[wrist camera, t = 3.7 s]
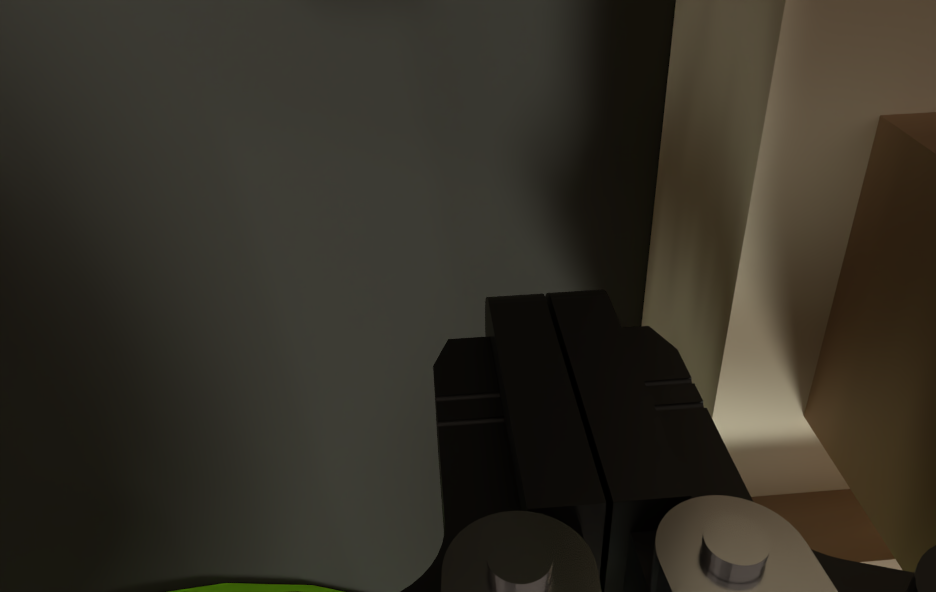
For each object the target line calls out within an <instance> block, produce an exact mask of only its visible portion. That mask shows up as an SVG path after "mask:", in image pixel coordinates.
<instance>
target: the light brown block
mask: <svg viewBox="0 0 936 592" xmlns="http://www.w3.org/2000/svg"><path fill="white" fill-rule="evenodd" d="M804 418H805V419H806V421H807V422H808V424H809V425H810V427H811V428H812V430H813V432H814V433H815V435H816V436H817V438H818V439H819V441H820V442H821V444H822V446H823V447H824V449H825V450H826V452H827V453H828V455H829V456H830V458H831V460H832V461H833V463H834V464H835V466H836V467H837V469H838V470H839V472H840V474H841V475H842V477H843V478H844V480H845V481H846V483H847V484H848V486H849V488H850V489H851V491H852V492H853V494H854V495H855V497H856V498H857V500H858V502H859V503H860V505H861V506H862V508H863V509H864V511H865V512H866V514H867V516H868V517H869V519H870V520H871V522H872V523H873V525H874V526H875V528H876V530H877V531H878V533H879V534H880V536H881V537H882V539H883V540H884V542H885V544H886V545H887V547H888V548H889V550H890V551H891V553H892V554H893V556H894V558H895V559H896V561H897V562H898V564H899V565H900V567H901V568H902V570H903V571H909V572H914V571H915V569H916V566H917V564H918V562H919V560H920V559H921V557H922V555H923V554H924V553H925V552H926V551H927V550H928V549H930V548H932V547H933V546H935V545H936V112H929V113H911V114H893V115H880V118H879V122H878V126H877V130H876V134H875V138H874V141H873V145H872V149H871V153H870V157H869V161H868V165H867V169H866V173H865V177H864V181H863V185H862V189H861V193H860V197H859V200H858V204H857V208H856V212H855V216H854V220H853V224H852V228H851V232H850V236H849V240H848V244H847V248H846V252H845V256H844V259H843V263H842V267H841V271H840V275H839V279H838V283H837V287H836V291H835V295H834V299H833V303H832V307H831V311H830V315H829V318H828V322H827V326H826V330H825V334H824V338H823V342H822V346H821V350H820V354H819V358H818V362H817V366H816V370H815V374H814V377H813V381H812V385H811V389H810V393H809V397H808V401H807V405H806V409H805V413H804Z"/></svg>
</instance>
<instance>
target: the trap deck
mask: <svg viewBox="0 0 936 592" xmlns="http://www.w3.org/2000/svg"><path fill="white" fill-rule="evenodd" d="M929 112H936V0H676V5H675V14H674V24H673V33H672V43H671V52H670V61H669V71H668V80H667V90H666V99H665V109H664V118H663V127H662V137H661V146H660V156H659V165H658V175H657V184H656V193H655V203H654V212H653V222H652V231H651V241H650V250H649V260H648V269H647V278H646V288H645V297H644V307H643V316H642V326H650V327H651V328H652V329H653V330H655V331H656V332H657V333H658V334H659V335H661V336H662V337H663V338H664V339H666V340H667V341H668V342H669V343H670V344H672V345H673V346H674V347H675V348H677V349H678V351H679V353H680V355H681V357H682V359H683V361H684V363H685V365H686V367H687V369H688V371H689V373H690V375H691V377H692V384H693V383H695V386H696V388H697V390H698V392H699V394H700V396H701V398H702V400H703V405H704V408H707V410H708V412H709V414H710V416H711V418H712V420H713V422H714V424H715V426H716V428H717V430H718V432H719V434H720V436H721V438H722V440H723V442H724V444H725V446H726V448H727V450H728V452H729V454H730V456H731V458H732V460H733V462H734V464H735V466H736V468H737V470H738V472H739V474H740V476H741V478H742V480H743V482H744V484H745V486H746V488H747V490H748V492H749V494H750V496H751V498H752V499H753V501H754V502H755V503H757V504H760V505H762V506H764V507H767V508H768V509H770V510H772V511H773V512H775V513H777V514H779V515H780V516H781V517H783V518H784V519H785V520H786V521H788V522H789V523H790V524H791V525H792V526H793V527H794V528H795V529H796V530H797V531H798V532H799V533H800V534H801V536H802V537H803V538H804V540H805V541H806V543H807V544H808V546H809V547H810V549H812V550H815V551H817V552H820V553H823V554H826V555H829V556H832V557H836V558H841V559H845V560H850V561H855V562H860V563H866V564H871V565H877V566H882V567H887V568H893V569H898V570H902V568H901V567H900V565H899V564H898V562H897V561H896V559H895V558H894V556H893V554H892V553H891V551H890V550H889V548H888V547H887V545H886V544H885V542H884V540H883V539H882V537H881V536H880V534H879V533H878V531H877V530H876V528H875V526H874V525H873V523H872V522H871V520H870V519H869V517H868V516H867V514H866V512H865V511H864V509H863V508H862V506H861V505H860V503H859V502H858V500H857V498H856V497H855V495H854V494H853V492H852V491H851V489H850V488H849V486H848V484H847V483H846V481H845V480H844V478H843V477H842V475H841V474H840V472H839V470H838V469H837V467H836V466H835V464H834V463H833V461H832V460H831V458H830V456H829V455H828V453H827V452H826V450H825V449H824V447H823V446H822V444H821V442H820V441H819V439H818V438H817V436H816V435H815V433H814V432H813V430H812V428H811V427H810V425H809V424H808V422H807V421H806V419H805V418H804V413H805V409H806V405H807V401H808V397H809V393H810V389H811V385H812V381H813V377H814V374H815V370H816V366H817V362H818V358H819V354H820V350H821V346H822V342H823V338H824V334H825V330H826V326H827V322H828V318H829V315H830V311H831V307H832V303H833V299H834V295H835V291H836V287H837V283H838V279H839V275H840V271H841V267H842V263H843V259H844V256H845V252H846V248H847V244H848V240H849V236H850V232H851V228H852V224H853V220H854V216H855V212H856V208H857V204H858V200H859V197H860V193H861V189H862V185H863V181H864V177H865V173H866V169H867V165H868V161H869V157H870V153H871V149H872V145H873V141H874V138H875V134H876V130H877V126H878V122H879V118H880V115H893V114H911V113H929Z"/></svg>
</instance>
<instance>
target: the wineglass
mask: <svg viewBox="0 0 936 592" xmlns="http://www.w3.org/2000/svg"><path fill="white" fill-rule="evenodd" d="M296 591H299V592H344V591H339V590H334V589H329V588H324V587H319V586H314V585H285V584H244V583H222V584H216V585H209V586H202V587H195V588H188V589H182V590H175V591H168V592H296Z"/></svg>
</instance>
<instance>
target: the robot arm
mask: <svg viewBox="0 0 936 592" xmlns="http://www.w3.org/2000/svg"><path fill="white" fill-rule="evenodd" d="M485 332H486V337H476V338H461V339H448V341H447V342H446V344H445V346H444V348H443V350H442V351H441V353H440V355H439V357H438V358H437V360H436V362H435V364H434V366H433V370H434V387H435V404H436V421H437V438H438V455H439V469H440V483H441V497H442V511H443V525H444V538H443V543H442V546H441V548H440V551H439V553H438V555H437V557H436V559H435V560H434V562H433V563H432V565H431V566H430V567H429V568H428V570H427V571H426V572H425V573H424V574H423V575H422V576H421V577H420V578H419V579H418V580H416V581H415V582H414V583H413V584H412V585H410V586H408V587H407V588H405V589H404V590H402V591H401V592H936V545H935V546H933V547H932V548H930V549H928V550H927V551H926V552H925V553H924V554H923V555H922V557H921V559H920V560H919V562H918V564H917V566H916V569H915V571H914V572H909V571H903V570H898V569H893V568H887V567H882V566H877V565H871V564H866V563H860V562H855V561H850V560H845V559H841V558H836V557H832V556H829V555H826V554H823V553H820V552H817V551H815V550H812V549H810V547H809V546H808V544H807V543H806V541H805V540H804V538H803V537H802V536H801V534H800V533H799V532H798V531H797V530H796V529H795V528H794V527H793V526H792V525H791V524H790V523H789V522H788V521H786V520H785V519H784V518H783V517H781V516H780V515H779V514H777V513H775V512H773V511H772V510H770V509H768V508H767V507H764V506H762V505H760V504H757V503H755V502H754V501H753V499H752V498H751V496H750V494H749V492H748V490H747V488H746V486H745V484H744V482H743V480H742V478H741V476H740V474H739V472H738V470H737V468H736V466H735V464H734V462H733V460H732V458H731V456H730V454H729V452H728V450H727V448H726V446H725V444H724V442H723V440H722V438H721V436H720V434H719V432H718V430H717V428H716V426H715V424H714V422H713V420H712V418H711V416H710V414H709V412H708V410H707V408H704V405H703V400H702V398H701V396H700V394H699V392H698V390H697V388H696V386H695V383H693V384H692V377H691V375H690V373H689V371H688V369H687V367H686V365H685V363H684V361H683V359H682V357H681V355H680V353H679V351H678V349H677V348H675V347H674V346H673V345H672V344H670V343H669V342H668V341H667V340H666V339H664V338H663V337H662V336H661V335H659V334H658V333H657V332H656V331H655V330H653V329H652V328H651V327H650V326H638V327H623V328H621V325H620V323H619V320H618V318H617V316H616V313H615V311H614V308H613V306H612V304H611V301H610V299H609V297H608V294H607V293H606V291H605V290H590V291H574V292H558V293H547V294H546V296H544V294H530V295H515V296H499V297H486V302H485ZM296 592H299V591H296Z"/></svg>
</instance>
